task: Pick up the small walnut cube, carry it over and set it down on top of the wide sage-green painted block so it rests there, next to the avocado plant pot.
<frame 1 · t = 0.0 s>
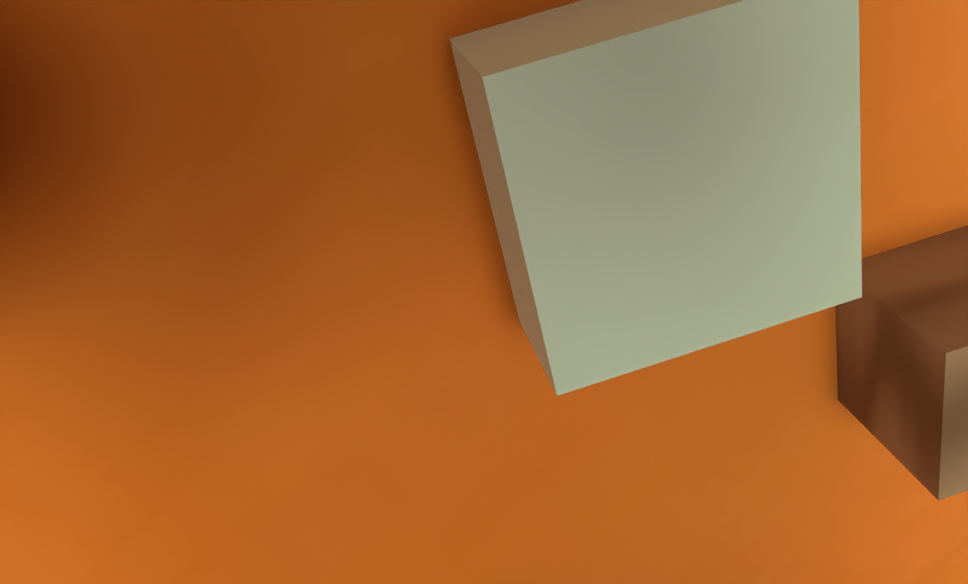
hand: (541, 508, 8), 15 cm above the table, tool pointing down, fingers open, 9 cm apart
walnut cube: (909, 311, 27), on the table
sage block: (630, 144, 23), on the table
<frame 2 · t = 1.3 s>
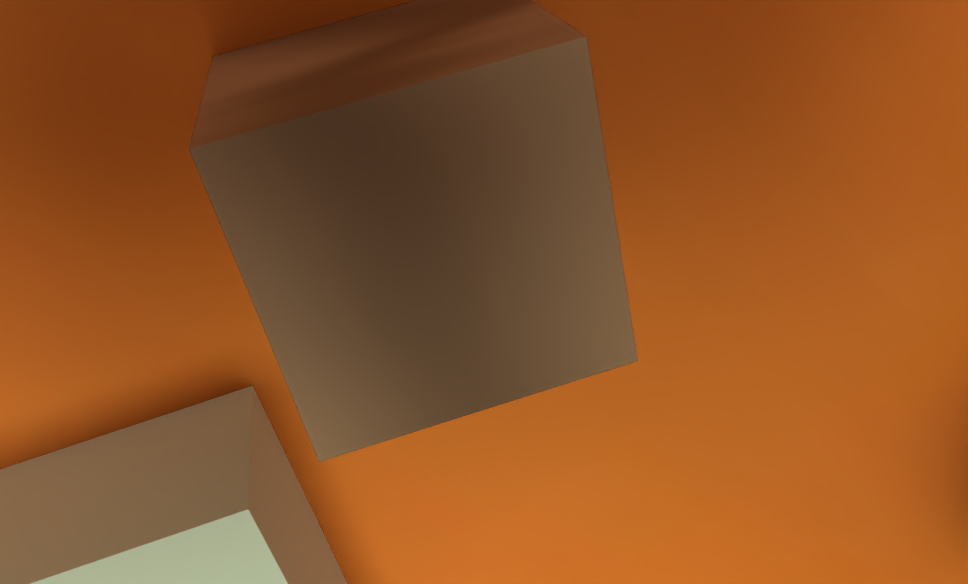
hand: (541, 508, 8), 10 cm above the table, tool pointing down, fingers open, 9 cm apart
walnut cube: (395, 150, 16), on the table
sage block: (148, 573, 20), on the table
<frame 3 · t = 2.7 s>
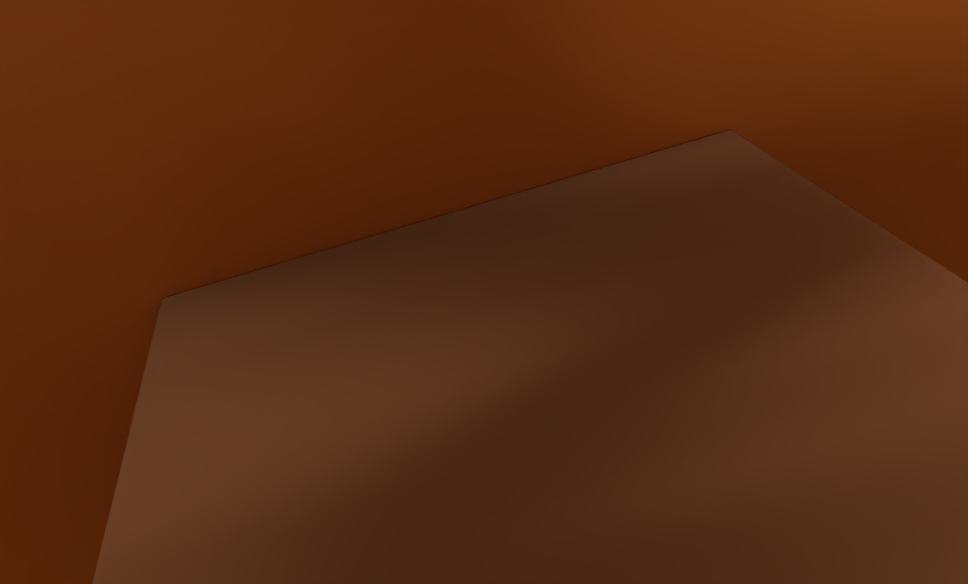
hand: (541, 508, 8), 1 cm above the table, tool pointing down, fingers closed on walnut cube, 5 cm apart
walnut cube: (513, 437, 9), on the table, touching gripper
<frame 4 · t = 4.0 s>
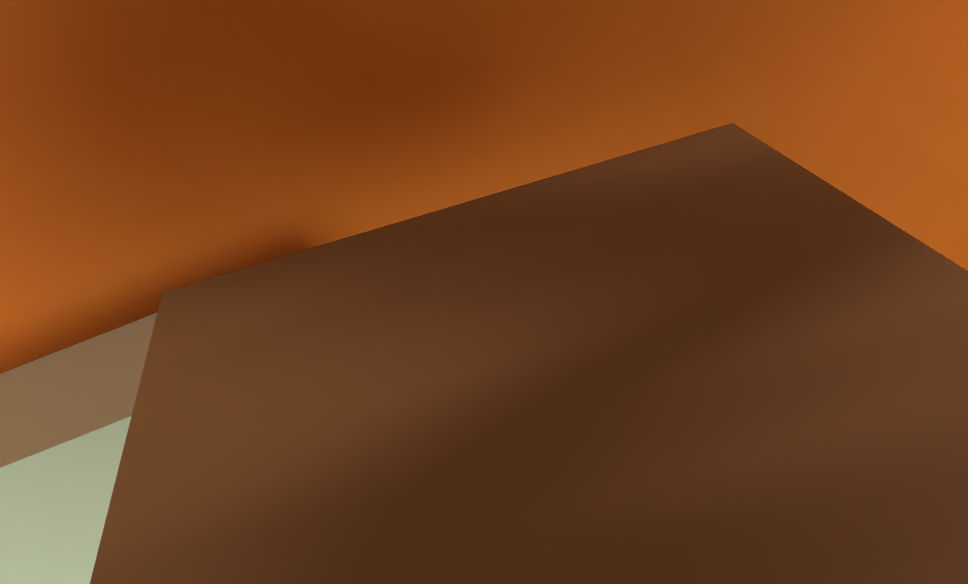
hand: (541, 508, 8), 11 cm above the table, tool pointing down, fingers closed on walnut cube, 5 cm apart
walnut cube: (514, 432, 9), point 10 cm above the table, touching gripper
sage block: (222, 452, 20), on the table
when the fingers open (6 cm above the table, at t = 5.7 s): walnut cube drops 2 cm, resting on sage block.
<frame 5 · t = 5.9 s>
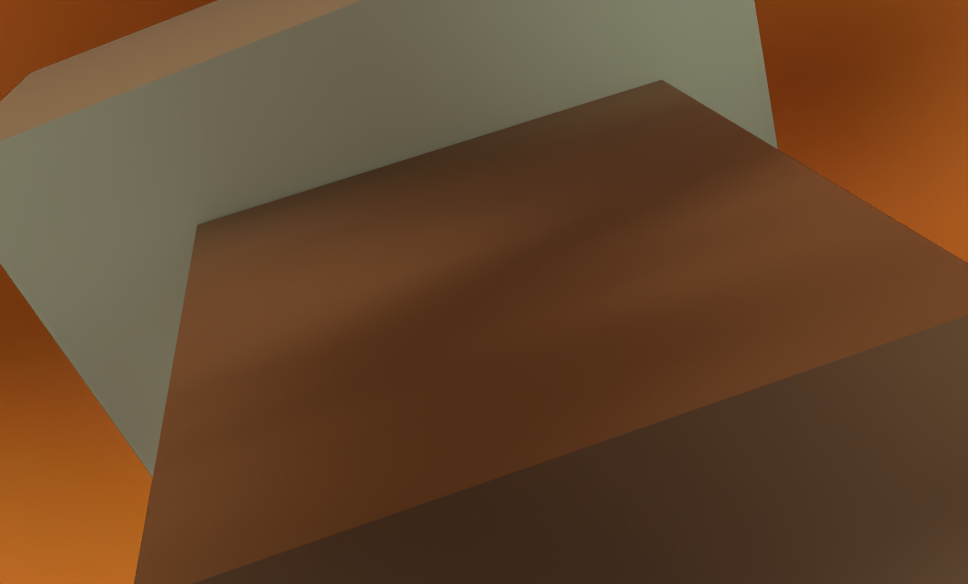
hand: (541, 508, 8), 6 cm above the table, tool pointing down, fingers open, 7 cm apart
walnut cube: (490, 347, 10), point 4 cm above the table, touching sage block
sage block: (422, 214, 14), on the table, touching walnut cube
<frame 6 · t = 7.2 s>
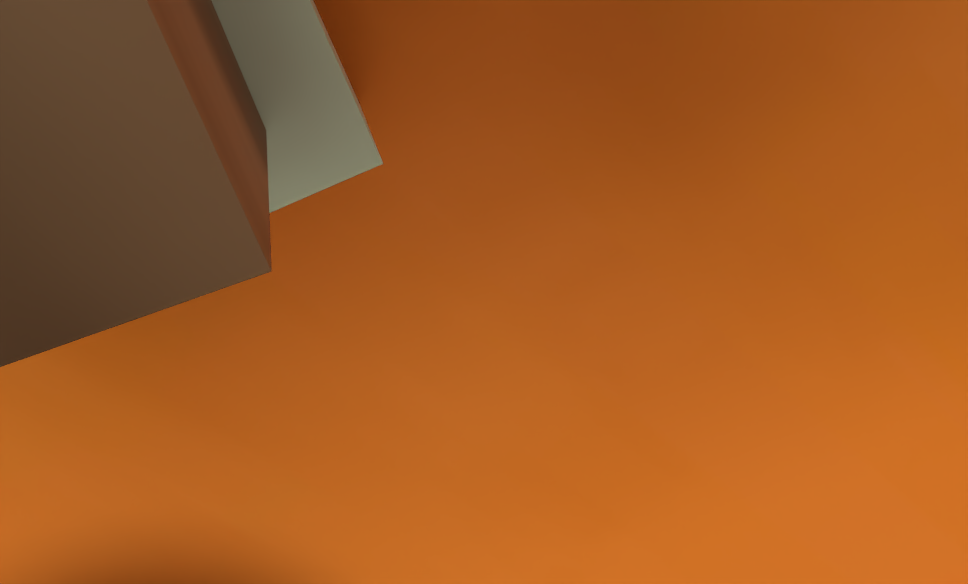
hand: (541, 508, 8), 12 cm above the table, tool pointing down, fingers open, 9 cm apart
walnut cube: (24, 24, 12), point 4 cm above the table, touching sage block
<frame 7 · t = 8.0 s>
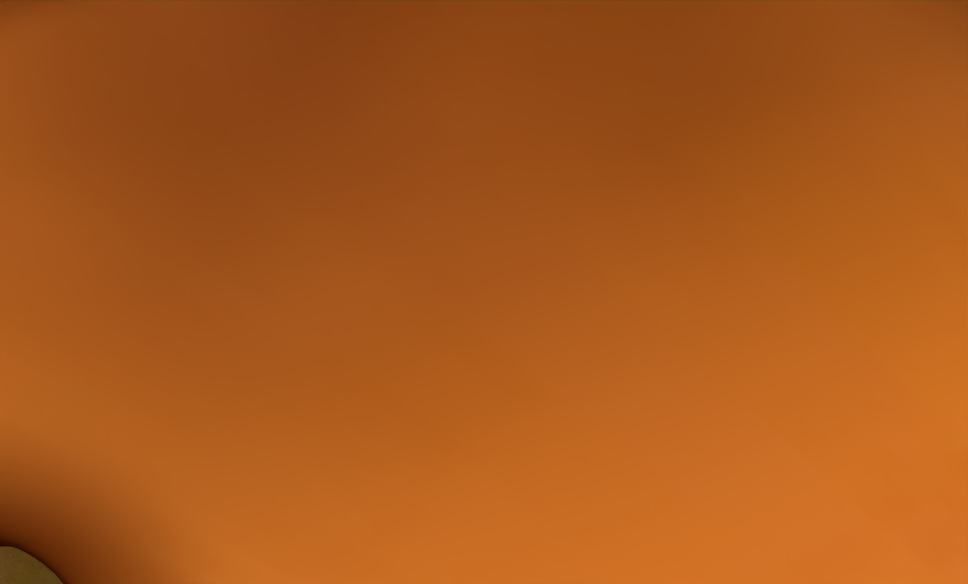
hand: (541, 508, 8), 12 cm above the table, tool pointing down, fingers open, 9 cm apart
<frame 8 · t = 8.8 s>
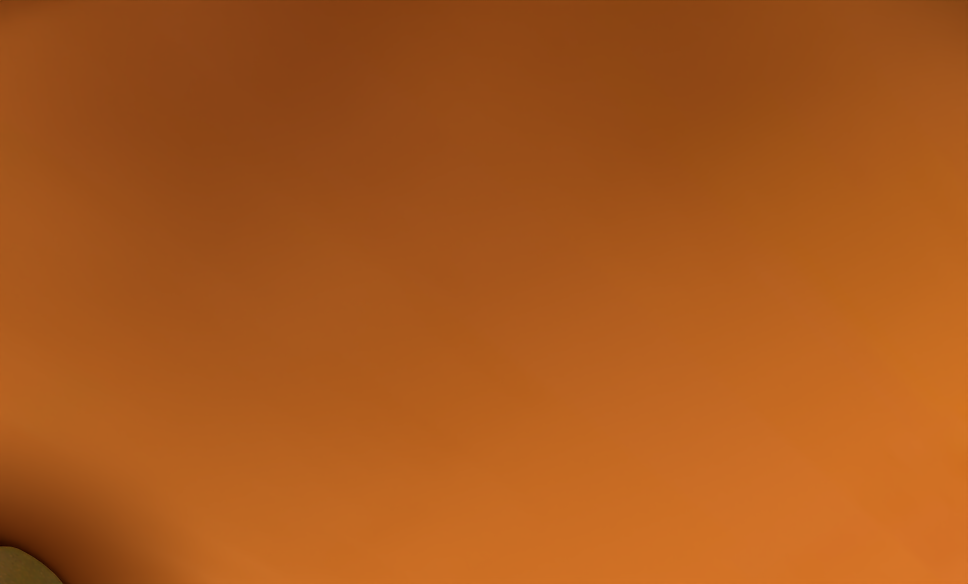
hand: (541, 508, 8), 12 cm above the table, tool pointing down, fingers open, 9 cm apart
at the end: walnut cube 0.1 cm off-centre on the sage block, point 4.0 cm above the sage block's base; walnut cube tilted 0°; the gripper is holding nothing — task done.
